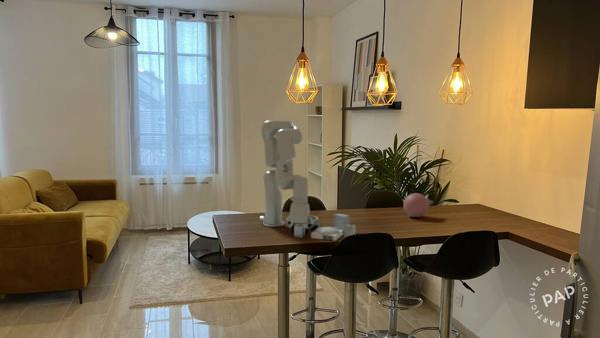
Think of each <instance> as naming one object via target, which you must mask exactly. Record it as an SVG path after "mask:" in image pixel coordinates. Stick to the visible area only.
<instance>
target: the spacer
mask: <svg viewBox="0 0 600 338" xmlns="http://www.w3.org/2000/svg"><path fill="white" fill-rule="evenodd" d="M353 234H355V235H356V225H355V224H350V223H349V224H347V225H346V226H345V232H344V234H343V235H344V238H345V237H346V236H349V235H353Z"/></svg>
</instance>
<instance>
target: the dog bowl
mask: <svg viewBox="0 0 600 338" xmlns="http://www.w3.org/2000/svg"><path fill="white" fill-rule="evenodd" d="M310 216H311V217H312V218H313V219H314V220H315V222H314V223H313V224H312V225H311V226H310V227H309V231H310V230H311V229H312V228H316V226H317V228H320V227H321V224H320V218H319V216H315V215H311V214H310ZM308 223H309V224H310V223H311V221H309V222H308ZM296 224H302V223H295V224H294V226H295V225H296ZM304 225H305V224H304ZM288 227H289V229H291V227H290V225H289V224H288Z"/></svg>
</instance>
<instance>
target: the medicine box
mask: <svg viewBox="0 0 600 338" xmlns="http://www.w3.org/2000/svg"><path fill="white" fill-rule="evenodd" d="M347 224H349V225H350V215H349V214H348V215H347V214H343V213H336V214H335V213H334V214H333V228H337V229H339V230H343V233H345V226H346V225H347Z"/></svg>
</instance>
